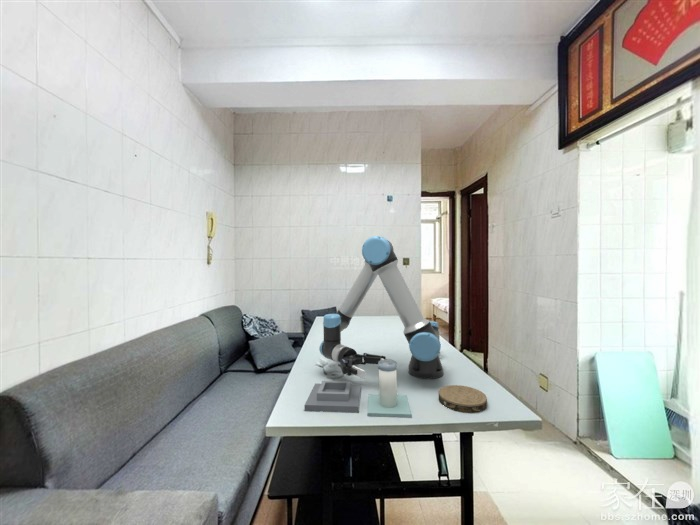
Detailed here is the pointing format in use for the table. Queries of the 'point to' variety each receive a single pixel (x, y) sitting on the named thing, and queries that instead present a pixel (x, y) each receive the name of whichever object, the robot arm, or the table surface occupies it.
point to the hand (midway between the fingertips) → (379, 370)
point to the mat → (398, 411)
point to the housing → (334, 397)
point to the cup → (387, 383)
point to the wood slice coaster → (462, 399)
